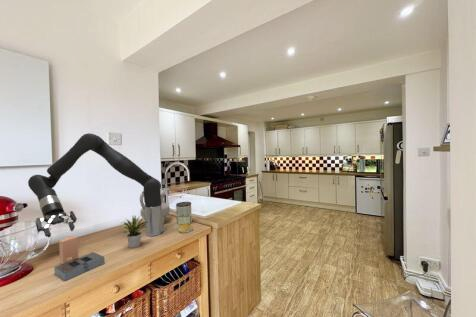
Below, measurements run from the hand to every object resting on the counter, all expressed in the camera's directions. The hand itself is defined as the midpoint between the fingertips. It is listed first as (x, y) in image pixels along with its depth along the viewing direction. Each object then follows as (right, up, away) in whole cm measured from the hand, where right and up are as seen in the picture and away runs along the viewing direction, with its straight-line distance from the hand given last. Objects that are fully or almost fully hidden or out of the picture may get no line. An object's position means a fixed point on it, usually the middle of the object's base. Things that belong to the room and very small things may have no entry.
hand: (61, 233), depth 94 cm
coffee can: (+46, -10, +45) cm, 65 cm away
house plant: (+29, -11, +10) cm, 33 cm away
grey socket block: (+17, -12, -9) cm, 22 cm away
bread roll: (+51, -11, +31) cm, 60 cm away
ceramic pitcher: (+24, -11, +47) cm, 54 cm away
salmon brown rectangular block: (+7, -12, -4) cm, 14 cm away
